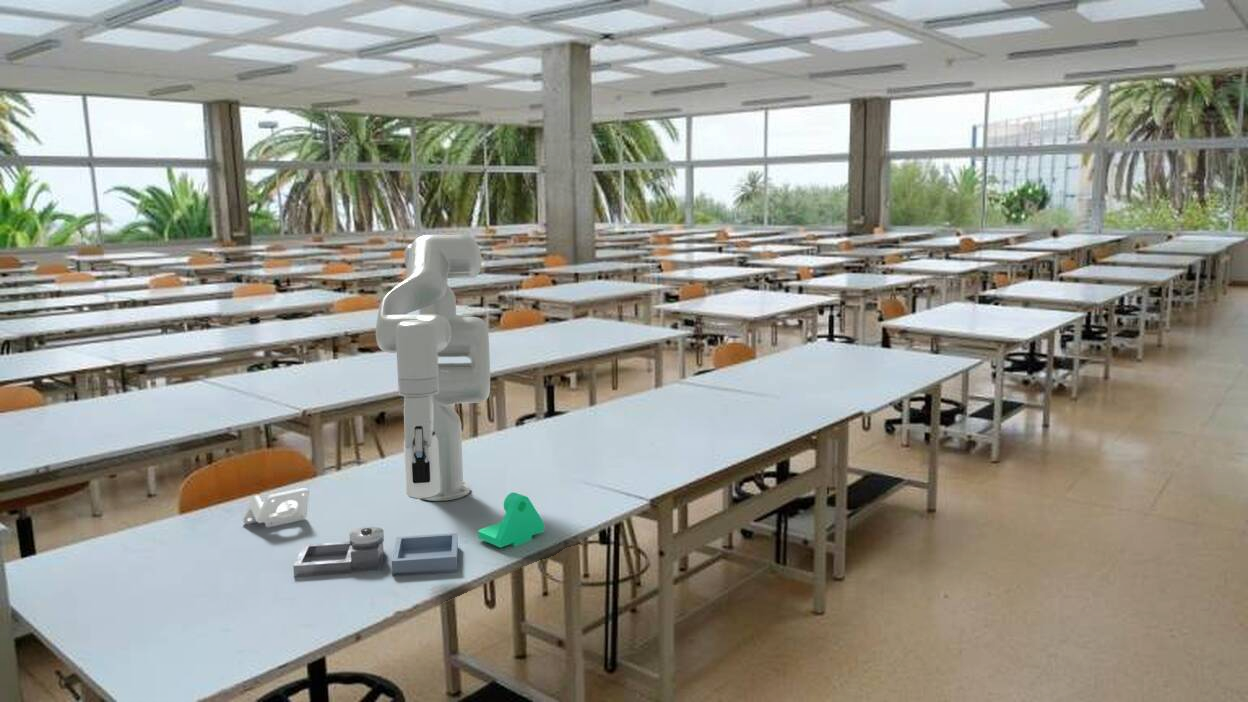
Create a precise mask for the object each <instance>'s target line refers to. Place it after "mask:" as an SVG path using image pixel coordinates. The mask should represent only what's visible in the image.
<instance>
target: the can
mask: <svg viewBox="0 0 1248 702" xmlns="http://www.w3.org/2000/svg"><path fill="white" fill-rule="evenodd" d="M435 434H436V433H435V432H434V431H433V435H432V442H431V446H430V447H428V461H430V482H428V483H413V476H412V462H413V449H412V447H413V443H412V445H411V447H409V448H408V449H407V448H406V447H405V440H403V441H404V442H403V452H404V453H403V454H404V455H403V456H404V474H405V475H404V477H405V493H406V495H407V496H408V497H409V498H410V499H414V500H415V499H416V500H425V499H427V498H431V497H434V496H436V495H438V494H439V492H440V468H439V446H438V439H437V437H436V435H435ZM422 435H423V434H422ZM422 446H425V443H422ZM423 451H424V453H425V449H423Z"/></svg>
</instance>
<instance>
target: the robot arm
mask: <svg viewBox="0 0 1248 702" xmlns="http://www.w3.org/2000/svg"><path fill="white" fill-rule="evenodd" d="M403 257H404V259H403V260H404V264H405V267H406V277H405V279H404V280H403V281H402V282H400V283H398V284H397V285H396V286H395V287H393V288H392V289H391V290H390V291H388V293H386V295H385V296H384V297H383V298H382V300H381V302H380V305H379V307H378V311H377V312H378V313H377V319H376V325H375V340H376V344H377V346H378V348H379V349H380V350H381V351H383V352H385V353H389V354H396V364H397V365H396V368H397V386H398V387H397V388H398V395H399V396H400V397H403V422H404V424H403V426H404V428H403V430H404V431H403V432H404V441H405V447H406V448H407V449H408V448H409V447H411V445H412V443H413V447H412V449H413V462H412V476H413V483H428V482H430V461H428V447H430V446H431V442H432V435H433V431H434V432H435V433H436V434H435V435H436V437H437V439H438V446H439V468H440V492H439V494H438V495H436V496H434V497H431V498H427V499H424V500H426V501H431V502H432V501H433V502H443V501H452V500H457V499H460V498H461V499H462V498H463V497H465V496H467V495H468V494H469V493H470V492H471V491H470V490H471V487H470V484H469V483H468V482H465V481H464V471H463V470H464V467H463V462H464V461H463V441H462V421H461V418H460V416H459V414H458V413H457V412H456V410H454V408H453V407H452V406H451V405H452V404H453V405H454V404H475V403H476V404H478V403H483V402H485V401H487V400H488V398H489V396H490V393H491V366H490V364H491V363H490V362H491V361H490V360H491V359H490V338H489V337H490V336H489V329H488V326H487V323H486V321H484V319H482V318H480V317H477V316H458V315H457V298H456V294H455V293H454V291H453V290H452V288H451V287H450V286H449V285H448V279H474V278H476V277H478V275H479V274H480V272H481V269H482V262H483V261H482V259H483V258H482V253H481V249H480V246H479V244H478V243H477V241H476V240H475V238H473V237H472V236H470V235H467V234H426V235H421V236H418V237H417V238H415V239H414V240H413V242H412V243H411V244H408V246H406V247H405V249H404V253H403ZM415 311H419V313H417V314H415V313H414V314H412V313H413V312H415ZM409 313H411V314H409ZM439 358H467V359H468V360H470V362H439ZM422 434H423V435H422ZM422 443H425V446H422ZM423 449H425V453H424V451H423Z"/></svg>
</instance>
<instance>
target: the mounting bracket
mask: <svg viewBox="0 0 1248 702" xmlns="http://www.w3.org/2000/svg"><path fill="white" fill-rule="evenodd" d="M309 496H310V490H309V488H307V487H301V488H296V489H291V490H287V491H282V492H277V493H273V494H272V493H271V494H268V495H267V496H266V497H265V499H264V501H262V499H261V497H260V496H259V495H258V494H257V495H255V496H253V497H252V499H251V501H250V503H249V505H248V506H247V509H246V511H245V512H244V514H243V516H242V522H243V523H244V524H245V525H249V524H253V523H258V524H261V523H263V524H264V525H265V527H266V528H273V527H277V526H282V525H286V524H290V523H295V522H299V521H303V520H306V518H307V515H308V506H309Z"/></svg>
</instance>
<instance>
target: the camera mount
mask: <svg viewBox="0 0 1248 702" xmlns="http://www.w3.org/2000/svg"><path fill="white" fill-rule="evenodd" d="M504 498H505V499H504V501H503V510H504V511H505V514H504V516H503V519H502V521H500V522H496V523H494V524H491V525H489V526H486V527H483V528H480V529H478V539H479V540H480V541H483V542H486V543H488V544H491V545H493V546H496V547H499V548H500V549H501V548H503V547H506V546H508V545H510V546H513V547H517V546H519V545H522V544H525V543H527V542H529V541H532V540H533V536H535V535H537V534H540V533H542V532H545V522H544V521H543V519H542V517H541V516H540V514H539V513H538V511H537V510H536V508H535V506H534V505H533V503H532V502H531V499H529V497H528V496H527V495H523V494H521V493H517V492H514V491H513V492H510V493H508V494H507V495H506V497H504Z"/></svg>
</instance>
